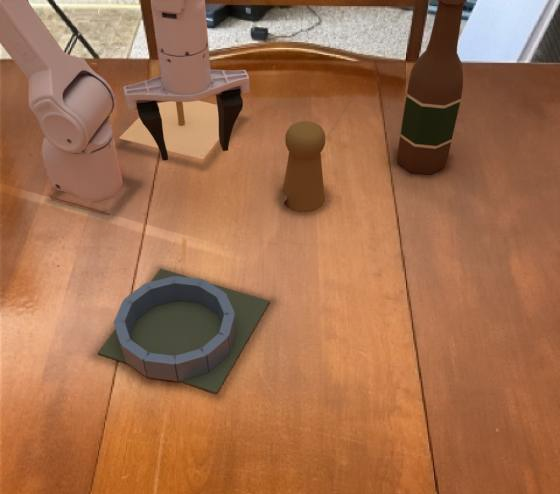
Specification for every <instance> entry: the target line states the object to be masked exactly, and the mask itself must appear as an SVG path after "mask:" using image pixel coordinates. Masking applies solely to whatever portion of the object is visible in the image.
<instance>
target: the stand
mask: <svg viewBox="0 0 560 494" xmlns="http://www.w3.org/2000/svg"><path fill="white" fill-rule="evenodd" d="M158 107H159V111H160V115H161V118H162V126H163V135H164V141H165V146H166V150H167V152H172V153H174V154H178V155H179V154H180V155H183V156H188V157H191V158H195V159H199V160H204V159H205V157H206V156H207V155H208V154H209V153H210V152H211V150H212V149H213V148H214V146H215V145H216V144H217V143H218V142H219V119H218V108H217V103H216V104H215V103H210V102H207V101H204V100H203V101H202V100H197V101H192V102H173V101H168V102H161V103H158ZM242 112H243V110H242V111H241V112H240V114H241V113H242ZM118 139H119V140H124V141H127V142H132V143H134V144H139V145H143V146H147V147H151V148H155V149H159V148H158V146H157V144H156V142H155V140H154V138H153V137H152V135H151V133H150V132H149V131H148V129H147V128H146V127H145V126H144V125H143V123H142V121H141V120H140V117H139V116H138V118H137V119H135V120H134V122H133V123H132V124H131V125H130V126H129V127H128V128H127V129H126V130H125V131H124V132H123V133H122V134H121V135H120V136H119V137H118Z"/></svg>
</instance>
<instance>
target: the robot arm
mask: <svg viewBox="0 0 560 494" xmlns="http://www.w3.org/2000/svg"><path fill="white" fill-rule="evenodd" d="M150 7H151V16H152V22H153V29H154V36H155V44H156V50H157V51H156V52H157V59H158V64H159V73H160V75H158V76H155V77H152V78H148V79H146V80H143V81H141V82H137V83H134V84H133V83H132V84H129V85H124V86H122V89H123V93H124V98H125V102H126V103H125V104H126V107H127V110H128V111H134V110H137V113H138V118H139V117H140V120H141V121H142V123H143V125H144V126H145V127H146V128H147V129H148V131H149V132H150V133H151V135H152V137H153V138H154V140H155V142H156V144H157V146H158V148H157V149H158V150H159V154H160V155H161V160H162V161H169V154H168V151H167V150H166V146H165V141H164V135H163V126H162V118H161V115H160V111H159V107H158V103H161V102H168V101H173V102H192V101H197V100H198V101H202V100H204V99H206V98H208V97H209V98H210V97H211V96H215V99H216V105H217V108H218V119H219V140H218V142H219V145H220V148H221V150H222V152H228V151H229V147H230V140H231V136H232V132H233V129H234V126H235V123H236V121H237V119H238V117H239V115H240V114H241V113H242V112H243V107H244V100H243V97H242V94H243V95H244V94H250V93H251V88H250V87H251V86H250V76H249V74H248V72H247V70H246V69H238V70H237V69H236V70H224V69H211V61H210V60H211V59H210V47H209V33H208V22H207V10H206V0H150ZM0 45H1V46H2V47H3V49H4V51H5V52H6V53H7V54H8V55H9V57H10V58H11V59H12V61H13V62H14V63H15V64H16V66H17V67H18V69H19V70H20V71H21V72H22V74H24V76H25V78H26V79H27V81H28V96H27V97H28V98H27V99H28V100H27V101H28V103H27V104H28V109H29V110H30V111H31V113H33V115H34V116H35V118H36V120H37V121H38V125H39V127H40V131H41V132H42V134H43V137H44V138H43V140H42V144H41V157H42V161H43V165H44V168H45V171H46V174H47V178H48V180H49V184H50V187H51V188H52V189H55V190H57V191H60V192H64V193H67V194H70V195H72V196H74V197H76V198H77V199H79V200H82V201H86V202H99V201H104V200H107V199H110V198H112V197H114V196H115V195H117V194H118V193H119V192H120V191H121V189H122V188H123V186H124V185H123V184H124V180H123V176H122V171H121V167H120V162H119V158H118V151H117V148H116V147H117V146H116V143H115V138H114V133H113V129H112V120H111V114H112V113H113V112H114V110H115V108H116V105H117V100H116V95H115V92H114V90H113V88H112V86H111V85H110V84H109V83H108V81H107V80H106V79H104V78H103V77H102V75H101V76H100V74H98V73H97V72H96V71H94V70H93V69H92V67H91V66H90V65H89V64H88V63H87V61H86V59H84V58H83V57H79V56H76V55H72V54H69V53H66V52H65V51H64V50H63V48H62V47H61V45H60V44H59V43H58V42H57V40H56V38H55V37H54V36H53V34H52V33H51V31H50V30H49V28H48V27H47V26H46V24H45V23H44V22H43V20H42V19H41V18H40V16H39V14H38V13H37V12H36V11H35V9H34V8H33V7H32V5H31V3H30V2H29V1H28V0H0ZM241 111H242V112H241ZM240 112H241V113H240ZM50 200H52V201H54V202H58V203H62V204H64V205H68V206H71V207H75V208H78V209H83V210H86V211H90V212H93V213H96V214H100V215H104V216H110V215H111V213H109V212H106V211H103V210H99V209H95V208H91V207H88V206H84V205H82V204H78V203H73V202H70V201H68V200H63V199H59V198H56V197H53V196H50Z"/></svg>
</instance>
